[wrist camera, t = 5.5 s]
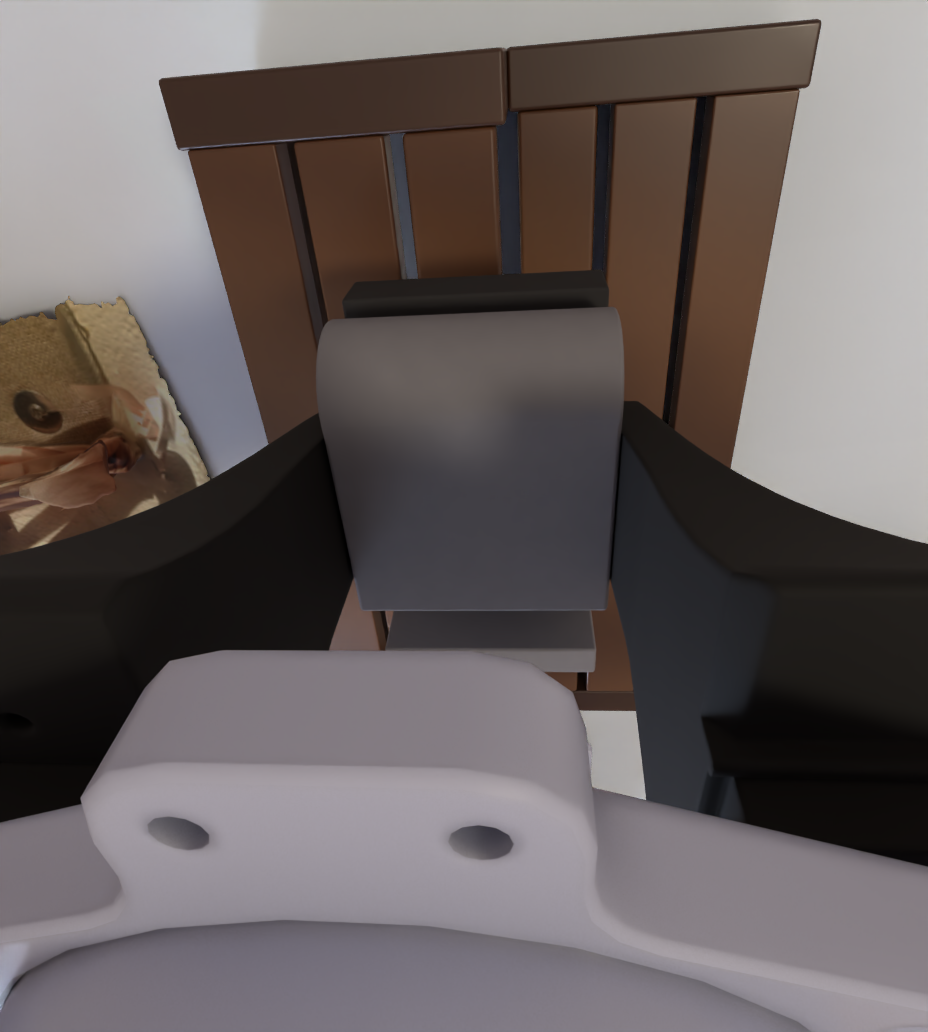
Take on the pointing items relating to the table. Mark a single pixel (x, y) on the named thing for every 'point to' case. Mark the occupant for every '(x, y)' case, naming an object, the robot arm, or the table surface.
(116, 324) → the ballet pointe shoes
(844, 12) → the table surface
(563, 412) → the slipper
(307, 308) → the shoe rack
